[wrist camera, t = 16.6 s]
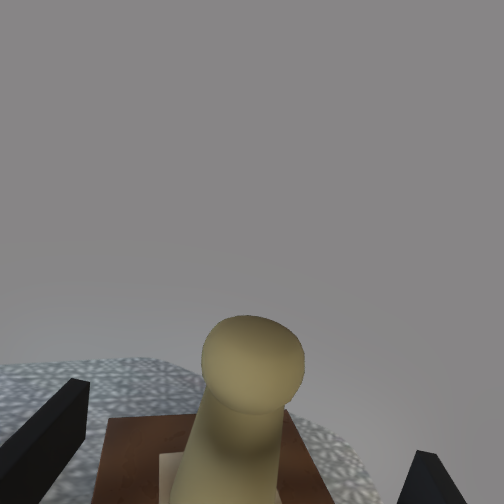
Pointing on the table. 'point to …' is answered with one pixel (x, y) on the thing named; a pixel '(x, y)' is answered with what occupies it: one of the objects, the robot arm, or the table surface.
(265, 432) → the cork
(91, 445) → the table surface
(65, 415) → the robot arm
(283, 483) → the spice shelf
